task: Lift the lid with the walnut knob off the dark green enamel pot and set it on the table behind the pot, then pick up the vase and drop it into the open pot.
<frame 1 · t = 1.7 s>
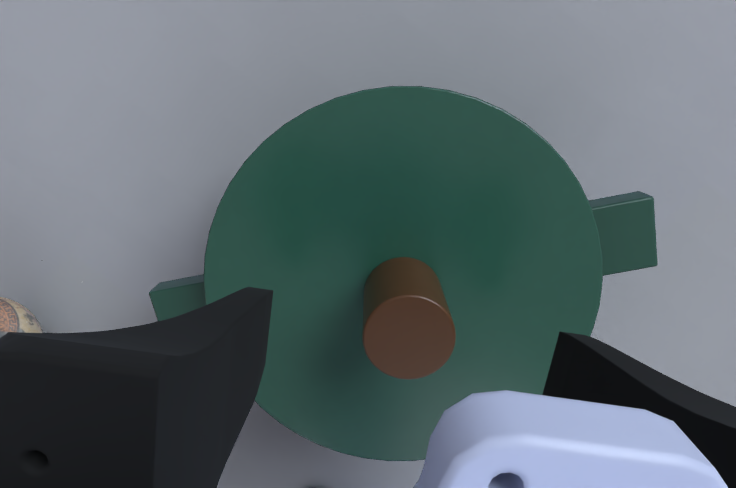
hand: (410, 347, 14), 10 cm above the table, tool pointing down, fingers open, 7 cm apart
pot: (394, 237, 23), on the table
pot lid: (401, 287, 18), point 6 cm above the table, touching pot
vase: (36, 303, 25), on the table
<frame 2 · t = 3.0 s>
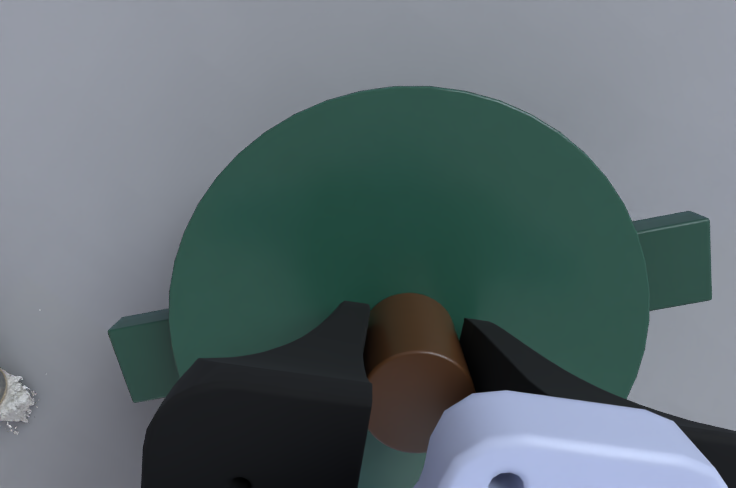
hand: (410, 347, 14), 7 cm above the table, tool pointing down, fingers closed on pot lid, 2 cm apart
pot: (397, 258, 20), on the table
pot lid: (406, 326, 15), point 6 cm above the table, touching gripper, pot
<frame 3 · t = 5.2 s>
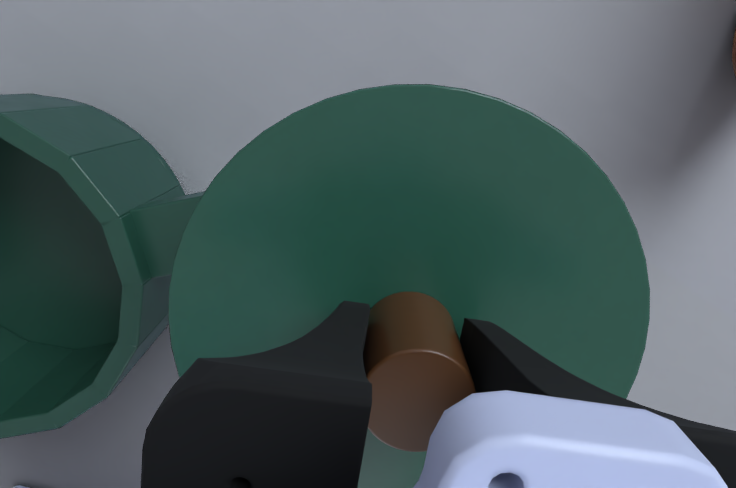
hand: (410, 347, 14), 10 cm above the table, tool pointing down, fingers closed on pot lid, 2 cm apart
pot: (61, 235, 23), on the table
pot lid: (406, 325, 15), point 9 cm above the table, touching gripper
when the fingers open (2 cm above the table, at t = 7.4 s): pot lid stays where it is, point 1 cm above the table.
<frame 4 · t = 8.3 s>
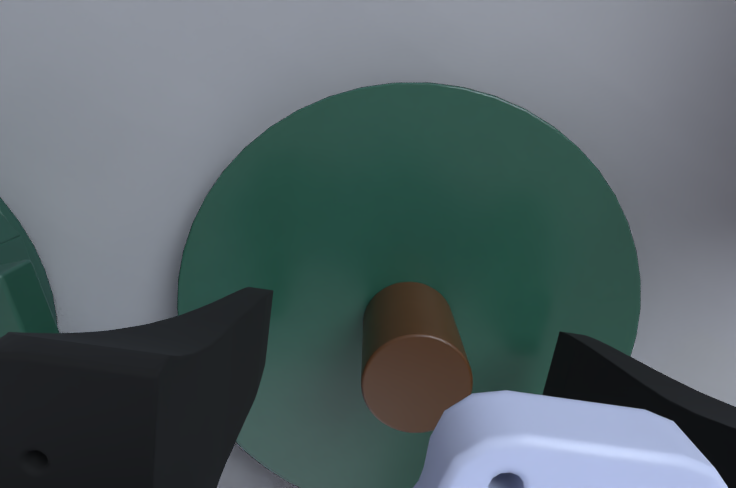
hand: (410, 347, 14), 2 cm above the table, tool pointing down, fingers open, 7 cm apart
pot lid: (406, 315, 15), point 1 cm above the table
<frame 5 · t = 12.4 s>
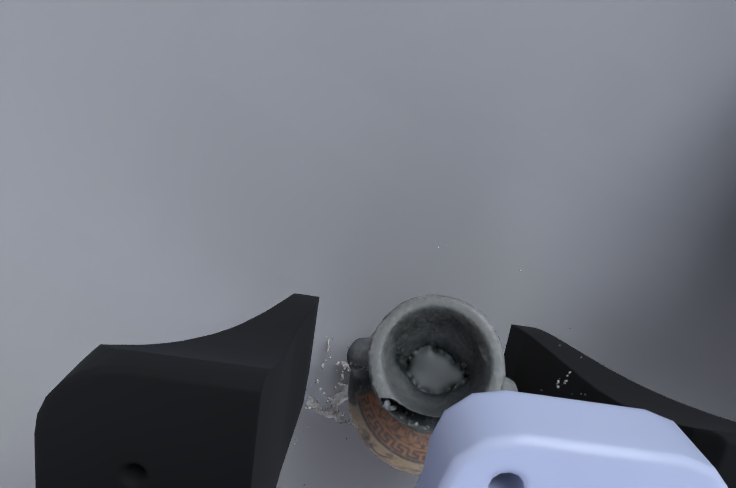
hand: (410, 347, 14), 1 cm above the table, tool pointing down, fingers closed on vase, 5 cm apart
vase: (412, 321, 15), on the table, touching gripper
when the fingers open (3 cm above the table, at t = 17.9 s): vase stays where it is, resting on pot.
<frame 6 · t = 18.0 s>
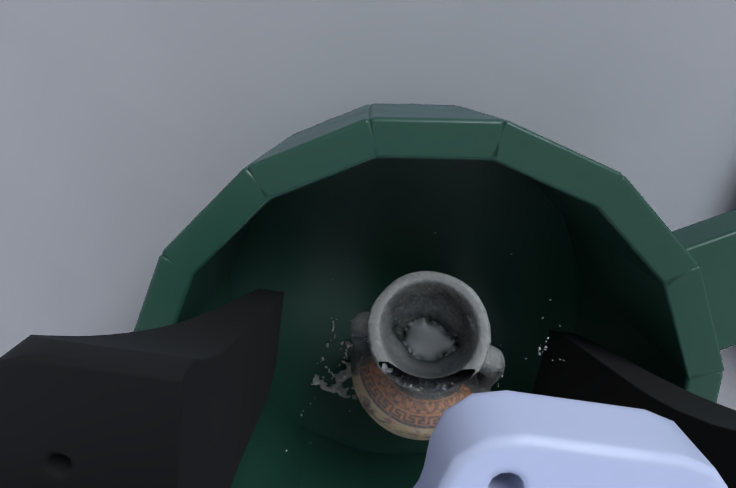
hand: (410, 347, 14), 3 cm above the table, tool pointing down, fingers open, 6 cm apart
pot: (404, 301, 16), on the table
vase: (411, 303, 16), resting on pot
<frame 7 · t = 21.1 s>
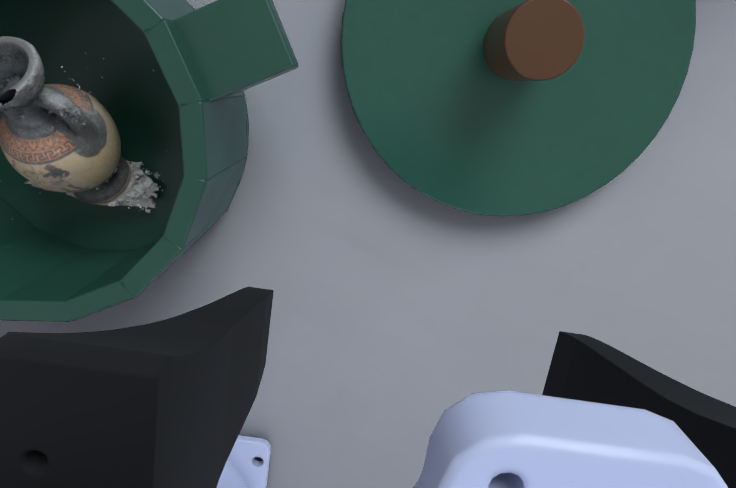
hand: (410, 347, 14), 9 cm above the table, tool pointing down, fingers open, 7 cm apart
pot: (101, 122, 21), on the table
pot lid: (513, 45, 20), point 1 cm above the table
vase: (104, 122, 21), resting on pot
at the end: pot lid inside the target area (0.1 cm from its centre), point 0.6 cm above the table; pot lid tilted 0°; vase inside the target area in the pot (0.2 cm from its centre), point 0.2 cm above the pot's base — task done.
